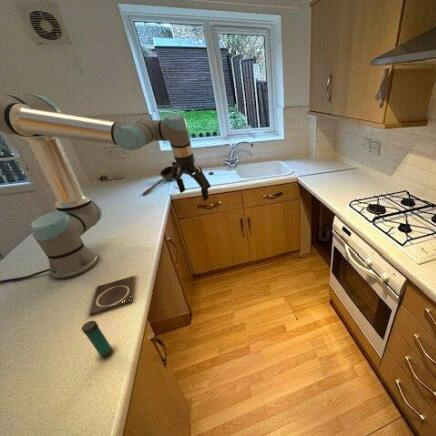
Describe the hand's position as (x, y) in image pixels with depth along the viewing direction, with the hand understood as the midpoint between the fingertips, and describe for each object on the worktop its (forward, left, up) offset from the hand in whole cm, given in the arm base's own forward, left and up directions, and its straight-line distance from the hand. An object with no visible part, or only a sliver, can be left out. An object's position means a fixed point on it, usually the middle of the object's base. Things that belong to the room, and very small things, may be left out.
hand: (194, 195), depth 113 cm
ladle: (-18, +87, -21) cm, 91 cm away
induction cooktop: (-35, -29, -20) cm, 50 cm away
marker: (-34, -54, -20) cm, 67 cm away
